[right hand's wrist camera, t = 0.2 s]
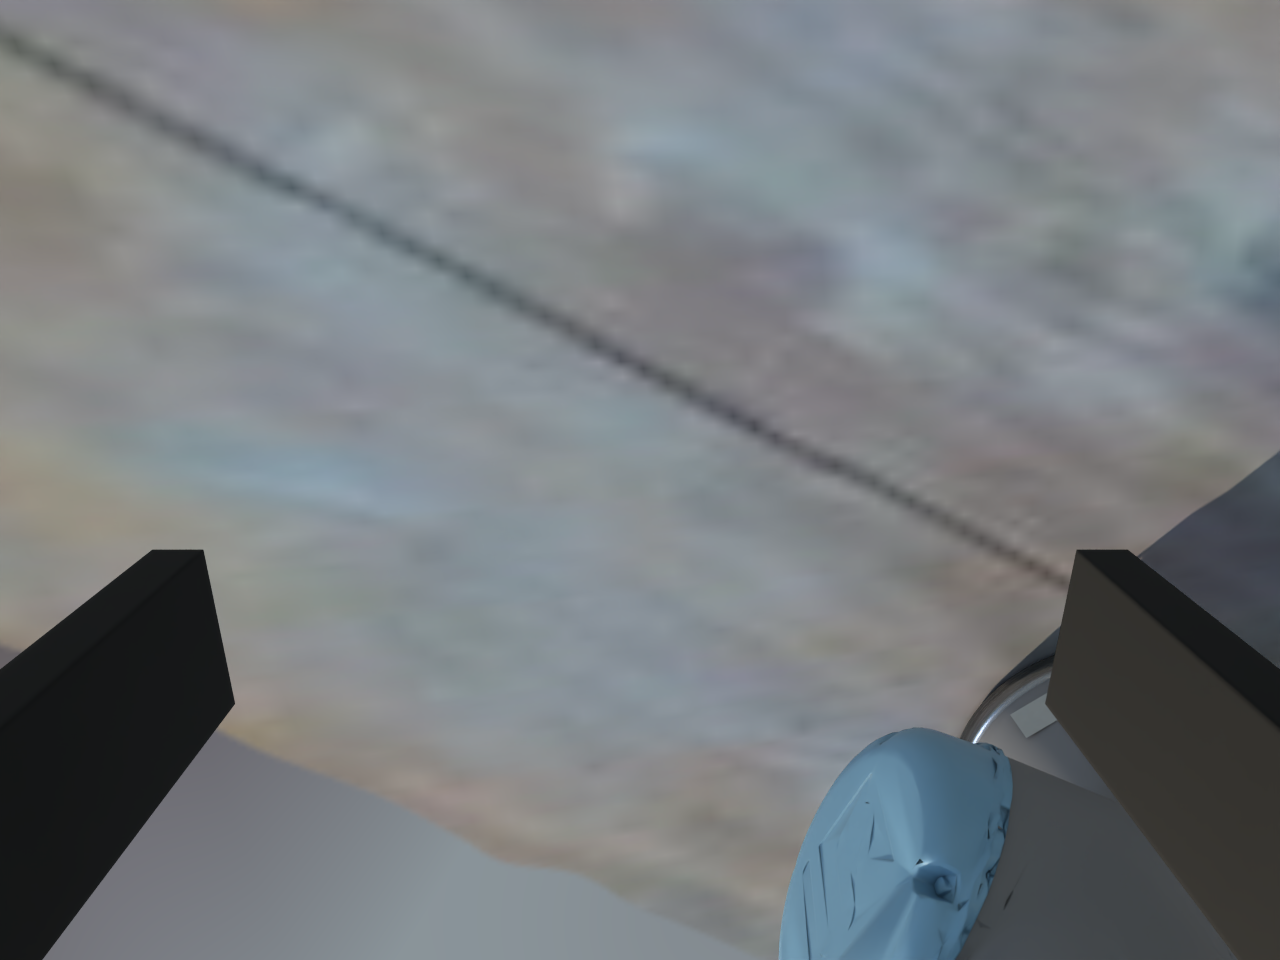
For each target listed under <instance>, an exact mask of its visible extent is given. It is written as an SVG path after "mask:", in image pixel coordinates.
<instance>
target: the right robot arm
mask: <svg viewBox="0 0 1280 960" xmlns="http://www.w3.org/2000/svg"><path fill="white" fill-rule="evenodd" d="M234 705H235V701H234V696H233V691H232V687H231V682H230V677H229V672H228V667H227V662H226V657H225V653H224V648H223V643H222V638H221V633H220V628H219V623H218V619H217V614H216V609H215V604H214V599H213V594H212V589H211V585H210V580H209V575H208V570H207V565H206V560H205V555H204V551H203V550H151V551H150V552H149V553H148V554H146V555H145V556H144V557H142V558H141V559H140V560H139V561H137V562H136V563H135V564H134V565H132V566H131V567H130V568H129V569H127V570H126V571H125V572H123V573H122V574H121V575H120V576H118V577H117V578H116V579H115V580H113V581H112V582H111V583H109V584H108V585H107V586H106V587H104V588H103V589H102V590H101V591H99V592H98V593H97V594H95V595H94V596H93V597H92V598H90V599H89V600H88V601H87V602H85V603H84V604H83V605H81V606H80V607H79V608H78V609H76V610H75V611H74V612H73V613H71V614H70V615H69V616H67V617H66V618H65V619H64V620H62V621H61V622H60V623H59V624H57V625H56V626H55V627H54V628H52V629H51V630H50V631H48V632H47V633H46V634H45V635H43V636H42V637H41V638H40V639H38V640H37V641H36V642H34V643H33V644H32V645H31V646H29V647H28V648H27V649H26V650H24V651H23V652H22V653H20V654H19V655H18V656H17V657H15V658H14V659H13V660H12V661H10V662H9V663H8V664H6V665H5V666H4V667H3V668H1V669H0V960H42V959H43V958H44V957H45V955H46V954H47V953H48V951H49V950H50V949H51V947H52V946H53V945H54V943H55V942H56V941H57V939H58V938H59V937H60V936H61V934H62V933H63V931H64V930H65V929H66V928H67V926H68V925H69V924H70V922H71V921H72V920H73V918H74V917H75V916H76V914H77V913H78V912H79V910H80V909H81V908H82V906H83V905H84V904H85V902H86V901H87V900H88V898H89V897H90V896H91V894H92V893H93V892H94V890H95V889H96V888H97V886H98V885H99V884H100V882H101V881H102V880H103V878H104V877H105V876H106V874H107V873H108V872H109V870H110V869H111V868H112V866H113V865H114V864H115V863H116V861H117V860H118V858H119V857H120V856H121V854H122V853H123V852H124V851H125V849H126V848H127V847H128V845H129V844H130V843H131V841H132V840H133V839H134V837H135V836H136V835H137V833H138V832H139V831H140V829H141V828H142V827H143V825H144V824H145V823H146V821H147V820H148V819H149V817H150V816H151V815H152V813H153V812H154V811H155V809H156V808H157V807H158V805H159V804H160V803H161V801H162V800H163V799H164V797H165V796H166V795H167V793H168V792H169V791H170V789H171V788H172V787H173V785H174V784H175V783H176V782H177V780H178V779H179V778H180V776H181V775H182V773H183V772H184V771H185V770H186V768H187V767H188V766H189V764H190V763H191V762H192V760H193V759H194V758H195V756H196V755H197V754H198V752H199V751H200V750H201V748H202V747H203V746H204V744H205V743H206V742H207V740H208V739H209V738H210V736H211V735H212V734H213V732H214V731H215V730H216V728H217V727H218V726H219V724H220V723H221V722H222V720H223V719H224V718H225V716H226V715H227V714H228V712H229V711H230V710H231V708H232V707H233V706H234ZM1045 705H1046V706H1047V707H1048V708H1049V710H1050V711H1051V712H1052V714H1053V715H1054V716H1055V718H1056V719H1057V720H1058V722H1059V723H1060V724H1061V726H1062V727H1063V728H1064V730H1065V731H1066V732H1067V734H1068V735H1069V736H1070V738H1071V739H1072V740H1073V742H1074V743H1075V744H1076V746H1077V747H1078V748H1079V750H1080V751H1081V752H1082V754H1083V755H1084V756H1085V758H1086V759H1087V760H1088V762H1089V763H1090V764H1091V766H1092V767H1093V768H1094V770H1095V771H1096V772H1097V774H1098V775H1099V776H1100V778H1101V779H1102V780H1103V782H1104V783H1105V784H1106V785H1107V787H1108V788H1109V789H1110V791H1111V792H1112V793H1113V795H1114V796H1115V797H1116V799H1117V800H1118V801H1119V803H1120V804H1121V805H1122V807H1123V808H1124V809H1125V811H1126V812H1127V813H1128V815H1129V816H1130V817H1131V819H1132V820H1133V821H1134V823H1135V824H1136V825H1137V827H1138V828H1139V829H1140V831H1141V832H1142V833H1143V835H1144V836H1145V837H1146V839H1147V840H1148V841H1149V843H1150V844H1151V845H1152V847H1153V848H1154V849H1155V851H1156V852H1157V853H1158V855H1159V856H1160V857H1161V859H1162V860H1163V861H1164V863H1165V864H1166V865H1167V866H1168V868H1169V869H1170V870H1171V872H1172V873H1173V874H1174V876H1175V877H1176V878H1177V880H1178V881H1179V882H1180V884H1181V885H1182V886H1183V888H1184V889H1185V890H1186V892H1187V893H1188V894H1189V896H1190V897H1191V898H1192V900H1193V901H1194V902H1195V904H1196V905H1197V906H1198V908H1199V909H1200V910H1201V912H1202V913H1203V914H1204V916H1205V917H1206V918H1207V920H1208V921H1209V922H1210V924H1211V925H1212V926H1213V928H1214V929H1215V930H1216V932H1217V933H1218V934H1219V936H1220V937H1221V938H1222V940H1223V941H1224V942H1225V943H1226V945H1227V946H1228V947H1229V949H1230V950H1231V951H1232V953H1233V954H1234V955H1235V957H1236V958H1237V959H1238V960H1280V669H1279V668H1277V667H1276V666H1275V665H1274V664H1272V663H1271V662H1270V661H1268V660H1267V659H1266V658H1265V657H1263V656H1262V655H1261V654H1260V653H1258V652H1257V651H1256V650H1254V649H1253V648H1252V647H1251V646H1249V645H1248V644H1247V643H1246V642H1244V641H1243V640H1242V639H1240V638H1239V637H1238V636H1237V635H1235V634H1234V633H1233V632H1232V631H1230V630H1229V629H1228V628H1226V627H1225V626H1224V625H1223V624H1221V623H1220V622H1219V621H1218V620H1216V619H1215V618H1214V617H1213V616H1211V615H1210V614H1209V613H1207V612H1206V611H1205V610H1204V609H1202V608H1201V607H1200V606H1199V605H1197V604H1196V603H1195V602H1193V601H1192V600H1191V599H1190V598H1188V597H1187V596H1186V595H1185V594H1183V593H1182V592H1181V591H1179V590H1178V589H1177V588H1176V587H1174V586H1173V585H1172V584H1171V583H1169V582H1168V581H1167V580H1165V579H1164V578H1163V577H1162V576H1160V575H1159V574H1158V573H1157V572H1155V571H1154V570H1153V569H1151V568H1150V567H1149V566H1148V565H1146V564H1145V563H1144V562H1143V561H1141V560H1140V559H1139V558H1138V557H1136V556H1135V555H1134V554H1132V553H1131V552H1130V551H1129V550H1077V551H1076V555H1075V560H1074V565H1073V570H1072V575H1071V580H1070V585H1069V589H1068V594H1067V599H1066V604H1065V609H1064V614H1063V619H1062V623H1061V628H1060V633H1059V638H1058V643H1057V648H1056V653H1055V657H1054V662H1053V667H1052V672H1051V677H1050V682H1049V686H1048V691H1047V696H1046V701H1045Z"/></svg>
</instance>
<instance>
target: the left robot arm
mask: <svg viewBox="0 0 1280 960" xmlns="http://www.w3.org/2000/svg"><path fill="white" fill-rule="evenodd" d="M1054 657H1055V655H1054V656H1051V657H1049V658H1046V659H1044V660H1042V661H1039V662H1037V663H1035V664H1033V665H1031V666H1029V667H1027V668H1026V669H1024V670H1022V671H1021V672H1019V673H1017V674H1016V675H1014V676H1013V677H1011V678H1010V679H1009V680H1007V681H1006V682H1005V683H1003V684H1002V685H1001V686H999V687H998V688H997V689H996V690H995V691H994V692H993V693H992V694H991V695H990V696H989V697H988V698H987V699H986V700H985V701H984V702H983V703H982V704H981V705H980V707H979V708H978V709H977V710H976V712H975V713H974V714H973V716H972V717H971V719H970V720H969V722H968V724H967V725H966V727H965V729H964V731H963V733H962V735H961V738H960V739H959V738H956V737H954V736H951V735H948V734H945V733H942V732H939V731H936V730H932V729H927V728H912V729H906V730H902V731H900V732H894V733H890V734H888V735H886V736H883V737H881V738H879V739H877V740H875V741H874V742H872V743H871V744H870V745H868V746H867V747H866V748H865V749H864V750H862V751H861V752H860V753H859V754H858V755H857V756H856V757H855V758H854V759H853V760H852V761H851V762H850V763H849V764H848V765H847V766H846V768H845V769H844V770H843V771H842V773H841V774H840V775H839V777H838V778H837V779H836V781H835V782H834V784H833V785H832V787H831V788H830V790H829V791H828V793H827V795H826V796H825V798H824V800H823V801H822V803H821V805H820V807H819V809H818V811H817V813H816V814H815V817H814V819H813V821H812V823H811V825H810V827H809V829H808V832H807V834H806V837H805V839H804V841H803V844H802V847H801V850H800V853H799V855H798V858H797V862H796V866H795V869H794V871H793V874H792V877H791V881H790V885H789V888H788V893H787V897H786V902H785V907H784V912H783V918H782V925H781V933H780V944H779V960H1238V959H1237V958H1236V957H1235V955H1234V954H1233V953H1232V951H1231V950H1230V949H1229V947H1228V946H1227V945H1226V943H1225V942H1224V941H1223V940H1222V938H1221V937H1220V936H1219V934H1218V933H1217V932H1216V930H1215V929H1214V928H1213V926H1212V925H1211V924H1210V922H1209V921H1208V920H1207V918H1206V917H1205V916H1204V914H1203V913H1202V912H1201V910H1200V909H1199V908H1198V906H1197V905H1196V904H1195V902H1194V901H1193V900H1192V898H1191V897H1190V896H1189V894H1188V893H1187V892H1186V890H1185V889H1184V888H1183V886H1182V885H1181V884H1180V882H1179V881H1178V880H1177V878H1176V877H1175V876H1174V874H1173V873H1172V872H1171V870H1170V869H1169V868H1168V866H1167V865H1166V864H1165V863H1164V861H1163V860H1162V859H1161V857H1160V856H1159V855H1158V853H1157V852H1156V851H1155V849H1154V848H1153V847H1152V845H1151V844H1150V843H1149V841H1148V840H1147V839H1146V837H1145V836H1144V835H1143V833H1142V832H1141V831H1140V829H1139V828H1138V827H1137V825H1136V824H1135V823H1134V821H1133V820H1132V819H1131V817H1130V816H1129V815H1128V813H1127V812H1126V811H1125V809H1124V808H1123V807H1122V805H1121V804H1120V803H1119V801H1118V800H1117V799H1116V797H1115V796H1114V795H1113V793H1112V792H1111V791H1110V789H1109V788H1108V787H1107V785H1106V784H1105V783H1104V782H1103V780H1102V779H1101V778H1100V776H1099V775H1098V774H1097V772H1096V771H1095V770H1094V768H1093V767H1092V766H1091V764H1090V763H1089V762H1088V760H1087V759H1086V758H1085V756H1084V755H1083V754H1082V752H1081V751H1080V750H1079V748H1078V747H1077V746H1076V744H1075V743H1074V742H1073V740H1072V739H1071V738H1070V736H1069V735H1068V734H1067V732H1066V731H1065V730H1064V728H1063V727H1062V726H1061V724H1060V723H1059V722H1058V720H1057V719H1056V718H1055V716H1054V715H1053V714H1052V712H1051V711H1050V710H1049V708H1048V707H1047V706H1046V705H1045V701H1046V696H1047V691H1048V686H1049V682H1050V677H1051V672H1052V667H1053V662H1054Z"/></svg>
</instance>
